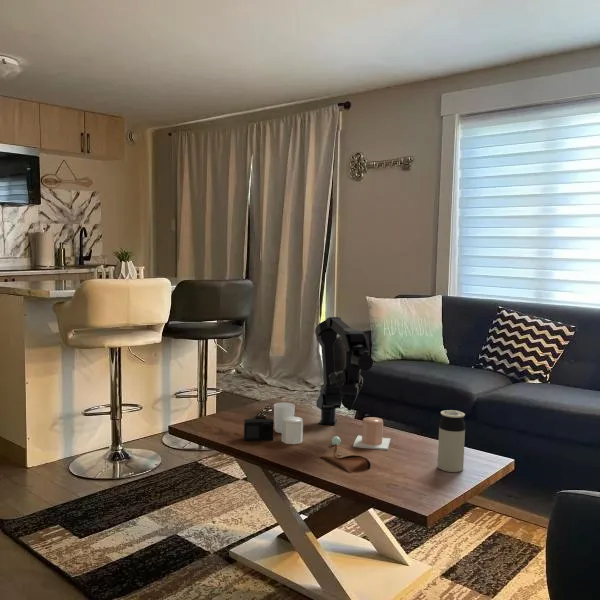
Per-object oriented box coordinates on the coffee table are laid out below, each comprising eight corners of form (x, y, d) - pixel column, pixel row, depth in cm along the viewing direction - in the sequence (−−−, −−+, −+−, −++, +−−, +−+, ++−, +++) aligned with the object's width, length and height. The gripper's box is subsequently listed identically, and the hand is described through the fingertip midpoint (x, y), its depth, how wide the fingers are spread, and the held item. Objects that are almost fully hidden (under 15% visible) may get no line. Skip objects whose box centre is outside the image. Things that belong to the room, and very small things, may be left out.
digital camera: (244, 442, 215) (244, 423, 215) (243, 437, 221) (244, 418, 220) (273, 441, 216) (273, 422, 216) (272, 437, 222) (272, 418, 221)
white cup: (285, 435, 224) (286, 408, 223) (269, 431, 229) (269, 405, 228) (298, 430, 231) (299, 404, 230) (282, 426, 235) (282, 401, 234)
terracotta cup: (363, 437, 221) (364, 416, 221) (383, 439, 220) (383, 418, 219) (361, 443, 214) (361, 421, 214) (381, 445, 213) (381, 423, 212)
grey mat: (357, 437, 224) (357, 435, 224) (390, 440, 222) (390, 438, 222) (353, 446, 213) (353, 445, 213) (387, 450, 210) (387, 448, 210)
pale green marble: (332, 443, 216) (332, 434, 216) (341, 444, 215) (341, 435, 215) (330, 446, 213) (331, 437, 213) (339, 447, 212) (340, 438, 212)
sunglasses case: (316, 456, 202) (324, 438, 203) (330, 463, 205) (338, 445, 207) (350, 473, 187) (359, 453, 188) (364, 481, 191) (373, 461, 192)
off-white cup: (285, 437, 222) (285, 415, 221) (303, 439, 220) (304, 417, 220) (280, 443, 215) (280, 420, 214) (299, 444, 213) (299, 422, 213)
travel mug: (438, 472, 190) (441, 415, 189) (436, 463, 198) (438, 409, 197) (464, 473, 189) (467, 417, 188) (461, 465, 197) (464, 410, 196)
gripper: (334, 358, 231) (333, 398, 233) (326, 368, 213) (324, 411, 215) (364, 360, 229) (362, 401, 231) (358, 370, 211) (356, 414, 212)
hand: (350, 407), depth 222 cm, fingers open, 9 cm apart
